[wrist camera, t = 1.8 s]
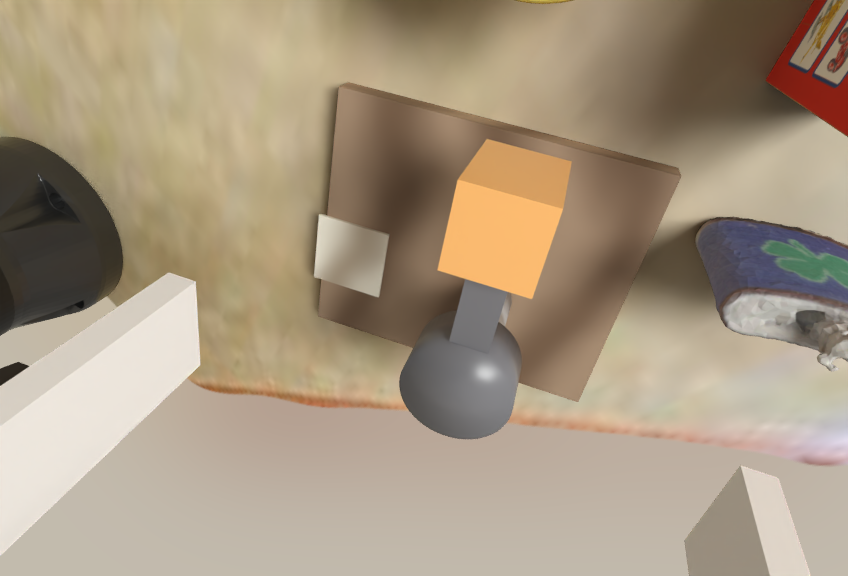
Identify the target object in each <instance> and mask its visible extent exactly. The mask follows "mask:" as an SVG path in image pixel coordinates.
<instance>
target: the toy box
mask: <svg viewBox="0 0 848 576" xmlns="http://www.w3.org/2000/svg"><path fill="white" fill-rule="evenodd" d="M766 82H767V83H769V84H770V85H772V86H773V87H775V88H776V89H778V90H779V91H781V92H782V93H784V94H785V95H787V96H788V97H789V98H791V99H792V100H794V101H795V102H797V103H798V104H800V105H801V106H803V107H804V108H806V109H807V110H809V111H810V112H812V113H813V114H815V115H816V116H818V117H819V118H820V119H822V120H823V121H825V122H826V123H828V124H829V125H831V126H832V127H834V128H835V129H837V130H838V131H840V132H841V133H843V134H844V135H846V136H847V137H848V0H814V1H813V3H812V5H811V6H810V8H809V10H808V11H807V13H806V14H805V16H804V18H803V19H802V21H801V23H800V24H799V26H798V28H797V29H796V31H795V33H794V34H793V36H792V37H791V39H790V41H789V42H788V44H787V46H786V47H785V49H784V51H783V52H782V54H781V56H780V57H779V59H778V60H777V62H776V64H775V65H774V67H773V69H772V70H771V72H770V74H769V75H768V77H767V79H766Z"/></svg>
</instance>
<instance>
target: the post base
mask: <svg viewBox="0 0 848 576" xmlns="http://www.w3.org/2000/svg"><path fill="white" fill-rule="evenodd" d="M487 139H489V140H493V141H497V142H500V143H504V144H508V145H512V146H515V147H519V148H523V149H527V150H530V151H534V152H538V153H542V154H546V155H549V156H553V157H557V158H561V159H564V160H568V161H572V163H571V169H570V174H569V180H568V185H567V191H566V196H565V202H564V208H563V211H562V214H561V217H560V220H559V223H558V226H557V228H556V231H555V234H554V237H553V240H552V243H551V246H550V249H549V252H548V254H547V257H546V260H545V263H544V266H543V269H542V272H541V275H540V278H539V281H538V283H537V286H536V289H535V292H534V295H533V298H532V299H530V298H526V297H523V296H520V295H516V294H513V293H510V292H508V293H507V296H506V299H505V302H504V305H503V309H502V312H501V315H500V318H499V321H498V322H500V323H501V324H502V325H504V326H505V327H506V328H507V329H508V330H509V331H510V332H511V333H512V335H513V336H514V337H515V339H516V341H517V342H518V345H519V347H520V350H521V354H522V368H521V372H520V377H519V382H518V383H522V384H525V385H528V386H531V387H534V388H537V389H540V390H543V391H546V392H549V393H552V394H555V395H558V396H561V397H564V398H567V399H570V400H573V401H576V402H578V401H579V399H580V397H581V395H582V392H583V390H584V388H585V386H586V384H587V381H588V379H589V377H590V375H591V373H592V370H593V368H594V366H595V364H596V362H597V360H598V357H599V355H600V353H601V351H602V349H603V346H604V344H605V342H606V340H607V338H608V336H609V333H610V331H611V329H612V327H613V325H614V322H615V320H616V318H617V316H618V314H619V311H620V309H621V307H622V305H623V303H624V301H625V298H626V296H627V294H628V292H629V290H630V287H631V285H632V283H633V281H634V279H635V276H636V274H637V272H638V270H639V268H640V266H641V263H642V261H643V259H644V257H645V255H646V252H647V250H648V248H649V246H650V244H651V242H652V239H653V237H654V235H655V233H656V231H657V228H658V226H659V224H660V222H661V220H662V217H663V215H664V213H665V211H666V209H667V207H668V204H669V202H670V200H671V198H672V196H673V193H674V191H675V189H676V187H677V185H678V183H679V180H680V178H681V174H680V172H679V169H678V168H676V167H672V166H668V165H664V164H660V163H656V162H653V161H649V160H645V159H641V158H637V157H633V156H630V155H626V154H622V153H618V152H614V151H610V150H607V149H603V148H599V147H595V146H591V145H587V144H583V143H580V142H576V141H572V140H568V139H564V138H560V137H557V136H553V135H549V134H545V133H541V132H537V131H534V130H530V129H526V128H522V127H518V126H514V125H510V124H507V123H503V122H499V121H495V120H491V119H487V118H484V117H480V116H476V115H472V114H468V113H464V112H460V111H457V110H453V109H449V108H445V107H441V106H437V105H434V104H430V103H426V102H422V101H418V100H414V99H411V98H407V97H403V96H399V95H395V94H391V93H387V92H384V91H380V90H376V89H372V88H368V87H364V86H361V85H357V84H353V83H346V84H344V85H342V86H339V90H338V101H337V112H336V123H335V134H334V145H333V156H332V167H331V178H330V189H329V200H328V211H327V215H323V214H319V221H318V233H317V246H316V258H315V270H314V277H316V278H319V279H321V289H320V300H319V311H318V316H319V317H322V318H325V319H328V320H331V321H334V322H337V323H340V324H343V325H346V326H349V327H352V328H355V329H358V330H361V331H364V332H367V333H370V334H373V335H376V336H379V337H382V338H385V339H388V340H391V341H394V342H397V343H400V344H403V345H406V346H409V347H412V348H414V346H415V344H416V342H417V340H418V338H419V336H420V334H421V332H422V331H423V329H424V327H425V326H426V325H427V324H428V323H429V322H430V321H431V320H432V319H434V318H435V317H437V316H439V315H441V314H443V313H446V312H450V311H457V309H458V305H459V301H460V298H461V294H462V290H463V286H464V282H465V279H464V278H461V277H458V276H454V275H451V274H448V273H445V272H441V271H438V265H439V261H440V256H441V252H442V247H443V243H444V238H445V234H446V230H447V225H448V221H449V216H450V212H451V207H452V203H453V198H454V194H455V189H456V185H457V181H458V178H459V177H460V176H461V174H462V173H463V172H464V170H465V169H466V167H467V166H468V165H469V163H470V162H471V160H472V159H473V158H474V156H475V155H476V153H477V152H478V151H479V149H480V148H481V147H482V145H483V144H484V142H485V141H486V140H487Z"/></svg>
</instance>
